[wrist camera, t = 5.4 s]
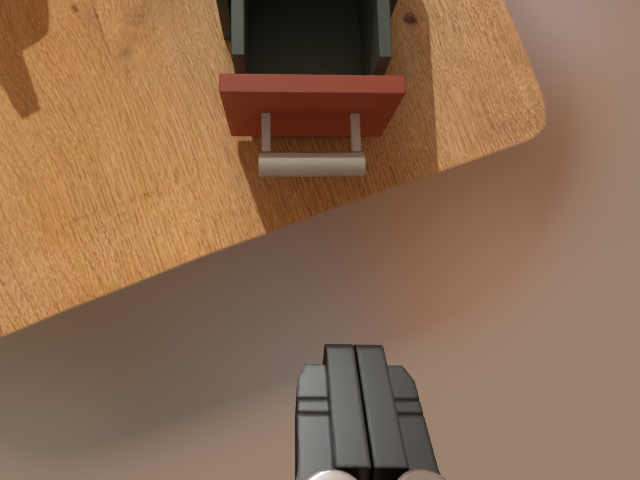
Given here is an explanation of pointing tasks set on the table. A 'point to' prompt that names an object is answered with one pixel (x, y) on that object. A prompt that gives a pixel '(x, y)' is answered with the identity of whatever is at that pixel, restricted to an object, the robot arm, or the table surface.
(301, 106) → the drawer
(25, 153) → the table surface
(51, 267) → the table surface
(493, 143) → the table surface
